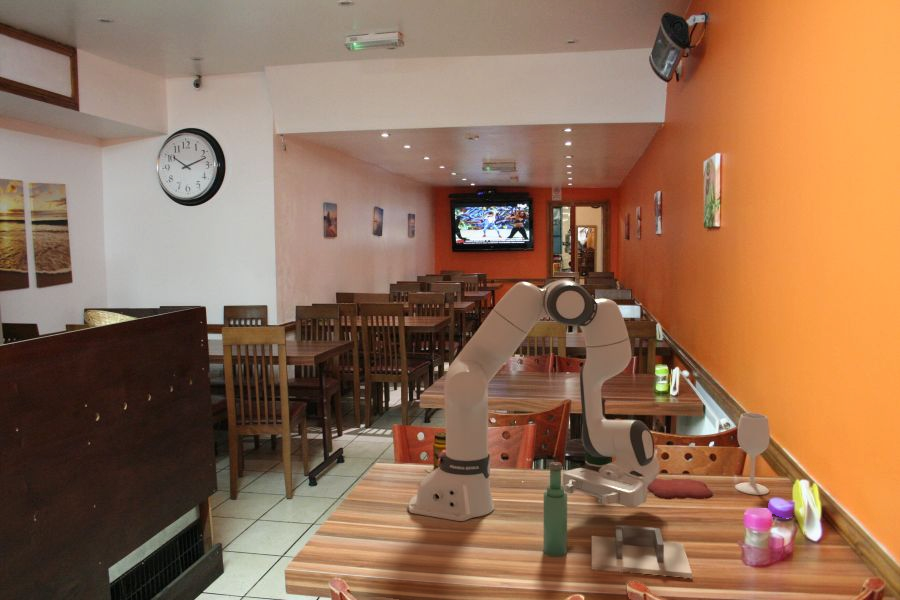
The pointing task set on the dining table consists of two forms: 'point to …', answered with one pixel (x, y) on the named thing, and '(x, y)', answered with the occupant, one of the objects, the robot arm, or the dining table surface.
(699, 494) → the patty
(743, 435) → the wineglass
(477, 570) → the dining table surface
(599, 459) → the beer bottle
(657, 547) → the bottle stand
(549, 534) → the bottle
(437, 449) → the condiment
